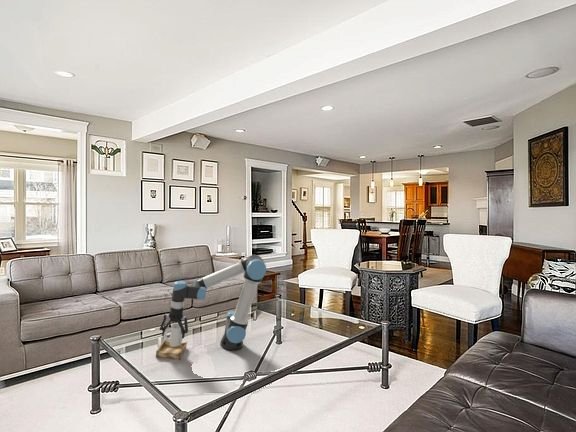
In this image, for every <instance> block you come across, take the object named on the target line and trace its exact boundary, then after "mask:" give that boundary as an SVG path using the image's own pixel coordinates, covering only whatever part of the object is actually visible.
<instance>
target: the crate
mask: <svg viewBox="0 0 576 432" xmlns="http://www.w3.org/2000/svg"><path fill="white" fill-rule="evenodd" d="M187 343H188V342H186V341H185V342H182V343H181V344H180V345H179V346H177V347H172V346H170V341H166V340H165V341H164V342H163V341H162V343H161V344H160V345H159V347H158V348H157V350H156V353H155V358H160V359H169V360H178V361H181V359H182V357H183V355H184V354H185V351H186V349H187Z"/></svg>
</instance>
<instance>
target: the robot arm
mask: <svg viewBox="0 0 576 432" xmlns="http://www.w3.org/2000/svg"><path fill="white" fill-rule="evenodd" d="M266 273H267V265H266V263H265V262H264V260H263V258H262V257H261V256H260V255H258V254H252V255H251V254H250V255H249V256H247V257H244V258H243V259H239V261H238V262H236V263H234V264H232V265H230V266H227V267H225V268H222V269H220V270H218V271H215V272H213V273H211V274H208V275H205V276H203V277H200V278H195V279H193V281H192V282H191V286H190V285H188V284H187V282H186V281H183V280H177V281H174V283H173V285H172V286H173V287H172V294H171V302H170V309H169V313H165V314H164V315H163V320H162V323H161V325H160V327H159V330H160V331H161V336H162V337H163V338H162V339H163V340H162V342H164V341H165V340H166V338H165V331H166V330H167V328H169V325H170V324H171V323H177V324H179V326H180V328H181V331H182V333H181V337H180V344H181V343H183V339H184V338H185V334H188V332H189V325H188V316H187V315H184V307H185V300H186V299H190V300H198V301H199V300H202V301H203V300H205V299H206V294H207V289H208V288H209V289H210V288H212V287H213V286H216V285H219V284H221V283H223V282H226V281H228V280H230V279H232V278H235V277H237V276H240V275H242V274H243V278H244V282H243V285H242V289H241V292H240V294H239V297H238V301H237V303H236V307H235V310H229V311H228V312H227V313H226V320H225V327H224V332H223V335H222V337H221V339H220V342H219V344H220V347H221V348H222V349H224V350H227V351H233V352H234V351H239V350H241V349H242V348H243V346H244V341H243V340H245V338H246V334H247V332H246V331H247V327H248V324H249V321H248V316H249V312H250V310H251V307H252V304H253V301H254V297H255V294H256V292H257V287H258V285H259V284H260V283H262V280H263V278H264V277H265V275H266ZM168 318H169V319H170V320H169V321H168V322H167V324H166V325H165V323H166V321H167V319H168ZM182 319H183V321H182ZM183 323H184V325H183ZM164 325H165V326H164Z"/></svg>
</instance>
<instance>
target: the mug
mask: <svg viewBox="0 0 576 432" xmlns="http://www.w3.org/2000/svg"><path fill="white" fill-rule="evenodd" d="M170 326H171V327H167V328H166V329H165V330H166V331H165V338H166V341H170V346H172V347H177V346H179V345H180V337H181V333H182V331H181V328H180V326H179V324H178V323H173V324H171V325H170ZM169 331H170V335H169V336H170V337H167V334H168V332H169Z"/></svg>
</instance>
